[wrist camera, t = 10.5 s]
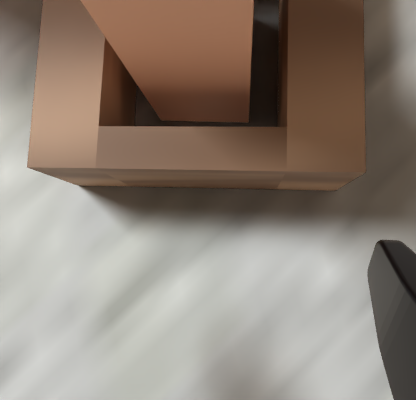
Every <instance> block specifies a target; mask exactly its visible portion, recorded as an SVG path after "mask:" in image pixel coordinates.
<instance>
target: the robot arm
mask: <svg viewBox="0 0 416 400" xmlns="http://www.w3.org/2000/svg"><path fill="white" fill-rule="evenodd" d="M368 283H369V289H370V295H371V301H372V307H373V313H374V319H375V326H376V332H377V338H378V343H379V348H380V352H381V356H382V360H383V364H384V367H385V371H386V374H387V378H388V381H389V385H390V388H391V392H392V395H393V398H394V400H416V253H414V252H413V251H412V250H411V249H410V248H408V247H407V246H406V245H405V244H404V243H402V242H401V241H397V240H380V241H378V242H377V243H376V245H375V248H374V251H373V254H372V257H371V260H370V263H369V267H368Z"/></svg>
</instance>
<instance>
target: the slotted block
mask: <svg viewBox="0 0 416 400" xmlns="http://www.w3.org/2000/svg"><path fill="white" fill-rule="evenodd" d="M136 91H137V84H136V82H135V81H134V79H133V78H132V76H131V75H130V73H129V72H128V70H127V69H126V67H125V66H124V64H123V63H122V61H121V60H120V58H119V57H118V55H117V54H116V52H115V51H114V49H113V48H112V46H111V45H110V43H109V42H108V40H107V39H106V37H105V36H104V35H103V33H102V32H101V30H100V29H99V27H98V26H97V24H96V23H95V21H94V20H93V18H92V17H91V15H90V14H89V12H88V11H87V9H86V8H85V6H84V5H83V3H82V2H81V0H43V4H42V14H41V25H40V36H39V46H38V57H37V67H36V78H35V89H34V99H33V110H32V120H31V131H30V142H29V152H28V163H27V167H28V168H30V169H33V170H36V171H39V172H42V173H44V174H47V175H50V176H53V177H56V178H58V179H61V180H64V181H67V182H70V183H72V184H75V185H85V186H134V187H183V188H232V189H282V190H331V191H336V190H337V189H339V188H341V187H342V186H344V185H346V184H347V183H349V182H351V181H353V180H354V179H356V178H358V177H359V176H361V175H363V174H364V173H366V147H365V79H364V12H363V0H279V38H278V109H277V127H173V126H134V124H135V107H136Z"/></svg>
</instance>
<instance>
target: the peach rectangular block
mask: <svg viewBox="0 0 416 400" xmlns="http://www.w3.org/2000/svg"><path fill="white" fill-rule="evenodd" d="M81 2H82V3H83V5H84V6H85V8H86V9H87V11H88V12H89V14H90V15H91V17H92V18H93V20H94V21H95V23H96V24H97V26H98V27H99V29H100V30H101V32H102V33H103V35H104V36H105V37H106V39H107V40H108V42H109V43H110V45H111V46H112V48H113V49H114V51H115V52H116V54H117V55H118V57H119V58H120V60H121V61H122V63H123V64H124V66H125V67H126V69H127V70H128V72H129V73H130V75H131V76H132V78H133V79H134V81H135V82H136V84H137V85H138V87H139V88H140V90H141V91H142V93H143V94H144V96H145V97H146V99H147V100H148V102H149V103H150V105H151V106H152V108H153V109H154V111H155V112H156V114H157V115H158V117H159V118H160V119H161V121H203V122H245V123H249V106H250V84H251V62H252V41H253V19H254V0H81Z"/></svg>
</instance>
